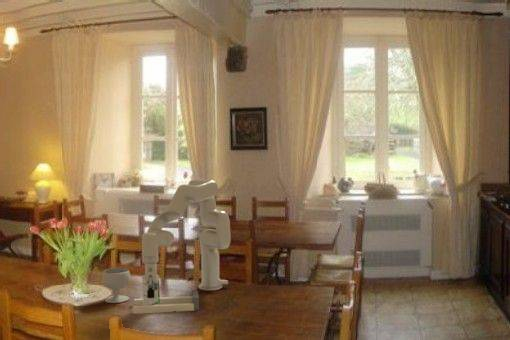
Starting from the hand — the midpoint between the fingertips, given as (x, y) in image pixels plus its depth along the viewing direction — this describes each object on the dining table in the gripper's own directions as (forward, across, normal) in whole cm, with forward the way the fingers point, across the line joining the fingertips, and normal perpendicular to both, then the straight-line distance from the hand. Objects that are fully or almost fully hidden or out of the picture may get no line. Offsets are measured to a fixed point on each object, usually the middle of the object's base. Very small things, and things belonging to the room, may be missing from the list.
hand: (151, 295), depth 264 cm
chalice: (+7, +16, +17) cm, 24 cm away
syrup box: (+5, 0, 0) cm, 5 cm away
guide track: (+6, 0, -7) cm, 9 cm away
